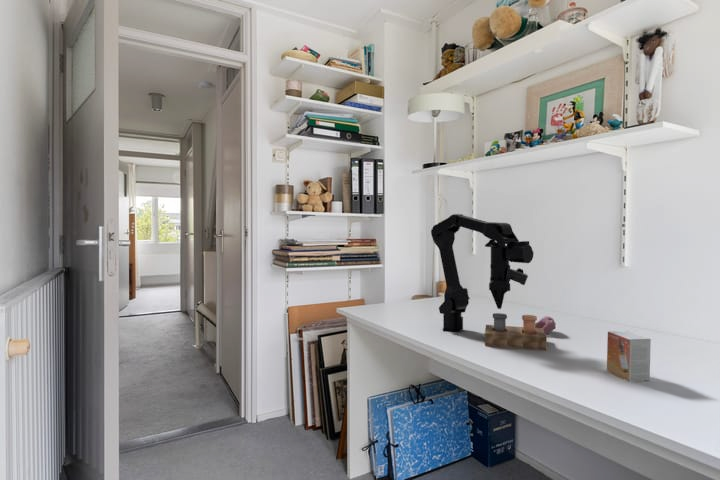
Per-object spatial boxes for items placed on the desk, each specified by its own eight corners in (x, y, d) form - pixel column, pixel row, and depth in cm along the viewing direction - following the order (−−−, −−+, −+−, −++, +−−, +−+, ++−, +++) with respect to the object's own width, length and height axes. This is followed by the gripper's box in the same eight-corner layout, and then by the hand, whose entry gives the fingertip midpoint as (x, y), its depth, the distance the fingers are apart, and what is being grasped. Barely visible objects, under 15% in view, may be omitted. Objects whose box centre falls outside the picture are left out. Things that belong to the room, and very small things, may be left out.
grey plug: (492, 334, 134) (492, 315, 133) (492, 331, 138) (492, 312, 137) (506, 335, 132) (506, 316, 132) (506, 332, 136) (506, 313, 136)
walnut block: (484, 345, 131) (484, 333, 131) (485, 336, 142) (485, 324, 142) (546, 350, 125) (546, 337, 125) (542, 340, 136) (542, 328, 136)
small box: (606, 370, 107) (606, 330, 107) (626, 370, 108) (626, 330, 107) (628, 382, 99) (629, 339, 99) (650, 381, 100) (651, 338, 99)
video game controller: (550, 341, 141) (560, 323, 140) (537, 334, 142) (547, 316, 141) (543, 333, 151) (552, 317, 150) (531, 327, 152) (540, 311, 151)
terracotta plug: (522, 336, 131) (522, 317, 130) (521, 333, 135) (521, 314, 135) (537, 337, 129) (537, 318, 129) (536, 334, 133) (536, 315, 133)
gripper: (528, 264, 123) (527, 316, 123) (524, 259, 140) (524, 304, 141) (489, 263, 126) (488, 313, 127) (490, 258, 144) (490, 303, 145)
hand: (499, 308), depth 135 cm, fingers closed
